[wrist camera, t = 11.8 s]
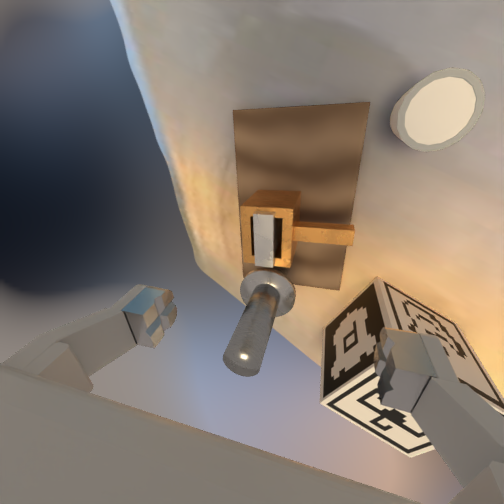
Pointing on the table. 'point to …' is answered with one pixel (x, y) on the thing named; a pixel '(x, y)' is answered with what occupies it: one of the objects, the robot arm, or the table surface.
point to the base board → (304, 173)
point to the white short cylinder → (438, 109)
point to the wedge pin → (266, 237)
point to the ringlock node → (272, 274)
